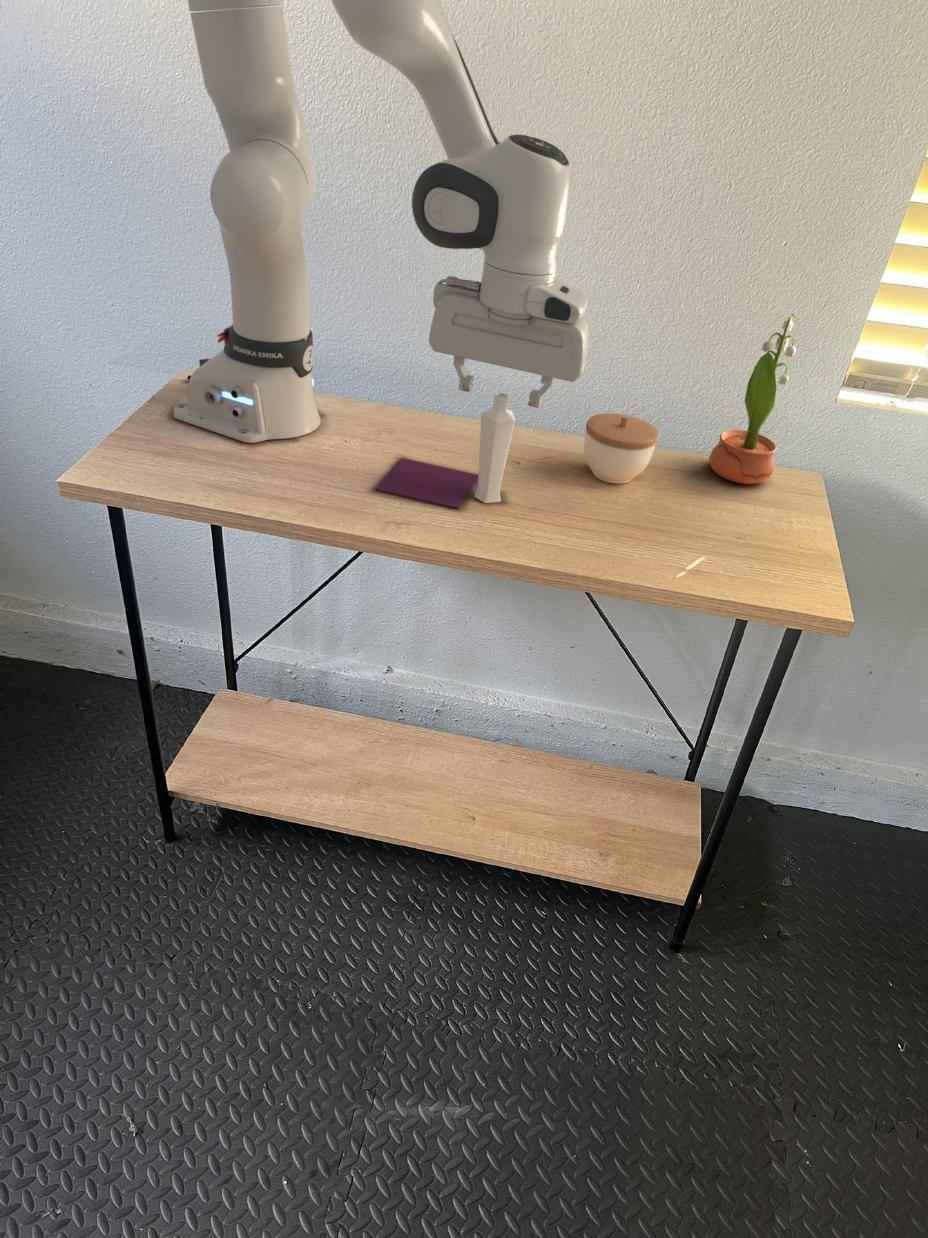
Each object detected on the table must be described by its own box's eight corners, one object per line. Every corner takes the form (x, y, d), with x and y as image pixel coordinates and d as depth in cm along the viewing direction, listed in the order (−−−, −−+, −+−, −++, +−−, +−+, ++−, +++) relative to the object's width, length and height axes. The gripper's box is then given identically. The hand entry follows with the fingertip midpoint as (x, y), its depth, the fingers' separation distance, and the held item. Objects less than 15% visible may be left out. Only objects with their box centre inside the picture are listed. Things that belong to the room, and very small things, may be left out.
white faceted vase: (494, 508, 118) (509, 405, 109) (467, 497, 119) (479, 395, 111) (510, 496, 121) (525, 395, 112) (484, 486, 123) (497, 386, 114)
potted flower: (713, 450, 142) (758, 297, 127) (773, 466, 139) (827, 311, 125) (701, 478, 133) (749, 315, 118) (766, 495, 130) (823, 331, 115)
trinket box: (646, 496, 125) (661, 437, 120) (574, 483, 127) (586, 424, 121) (647, 466, 134) (661, 409, 129) (580, 454, 135) (591, 397, 130)
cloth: (375, 490, 118) (375, 488, 118) (402, 459, 127) (402, 457, 127) (457, 509, 116) (458, 507, 116) (478, 476, 125) (479, 474, 125)
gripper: (428, 278, 103) (417, 388, 111) (592, 312, 100) (569, 423, 108) (443, 267, 108) (432, 373, 116) (600, 300, 105) (577, 406, 113)
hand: (499, 397), depth 112 cm, fingers open, 8 cm apart
